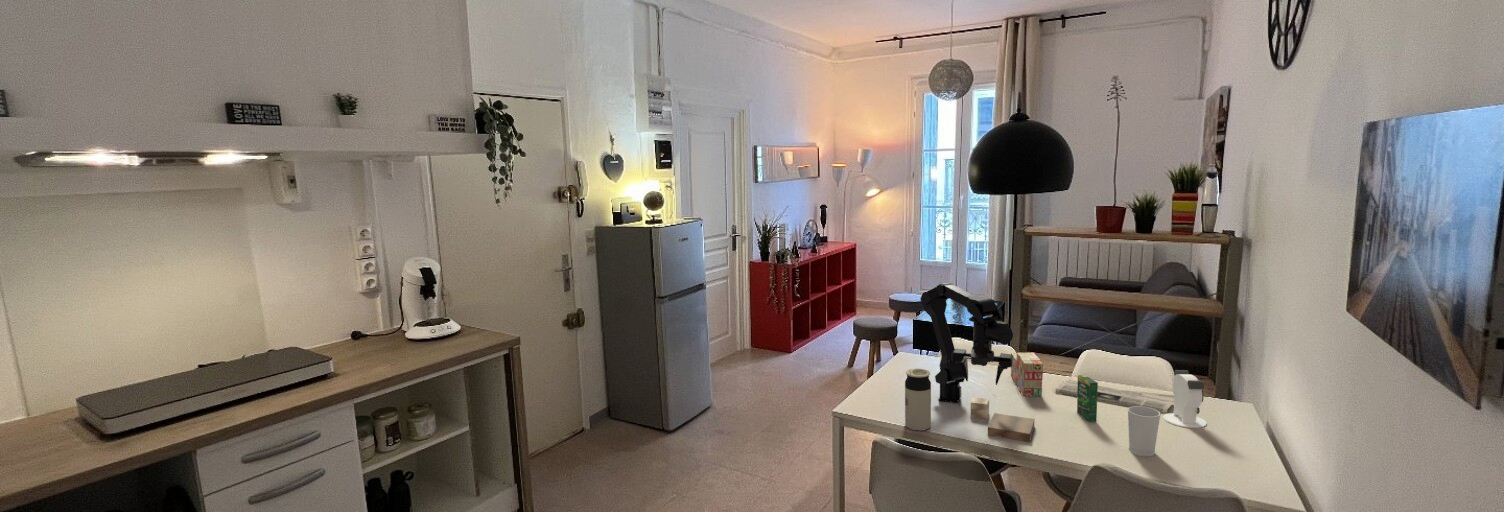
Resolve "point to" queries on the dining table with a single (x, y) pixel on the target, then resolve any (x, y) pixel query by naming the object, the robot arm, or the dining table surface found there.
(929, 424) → the travel mug
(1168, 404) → the newspaper
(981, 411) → the maple cube
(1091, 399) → the coffee box
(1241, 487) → the dining table surface
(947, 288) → the robot arm
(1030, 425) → the walnut base slab
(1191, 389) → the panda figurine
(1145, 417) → the cup
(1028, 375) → the stack of blocks
